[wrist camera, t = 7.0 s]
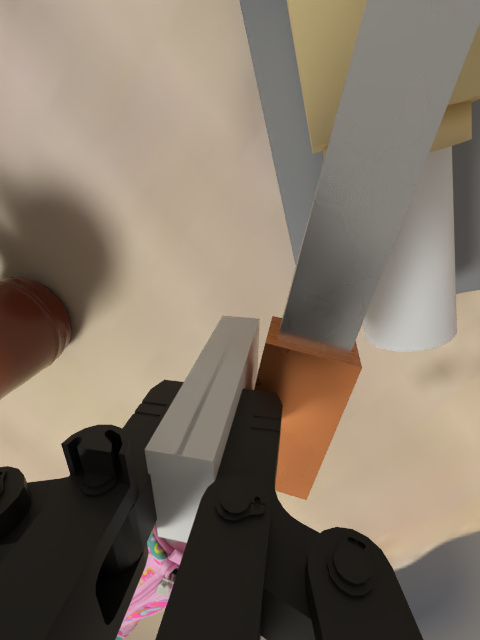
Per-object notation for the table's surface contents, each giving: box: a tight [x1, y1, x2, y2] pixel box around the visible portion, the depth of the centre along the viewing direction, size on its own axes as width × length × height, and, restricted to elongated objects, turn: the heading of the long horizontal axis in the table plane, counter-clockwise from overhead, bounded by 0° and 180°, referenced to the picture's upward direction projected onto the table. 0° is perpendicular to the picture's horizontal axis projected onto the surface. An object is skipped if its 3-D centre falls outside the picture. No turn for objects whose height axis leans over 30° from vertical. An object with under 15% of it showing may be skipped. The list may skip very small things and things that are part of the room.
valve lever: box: [254, 0, 480, 500], centre depth 8 cm, size 16×3×2 cm, turn 170°
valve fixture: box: [240, 0, 480, 352], centre depth 11 cm, size 24×10×11 cm, turn 16°
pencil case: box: [115, 523, 187, 640], centre depth 31 cm, size 21×9×9 cm, turn 145°
